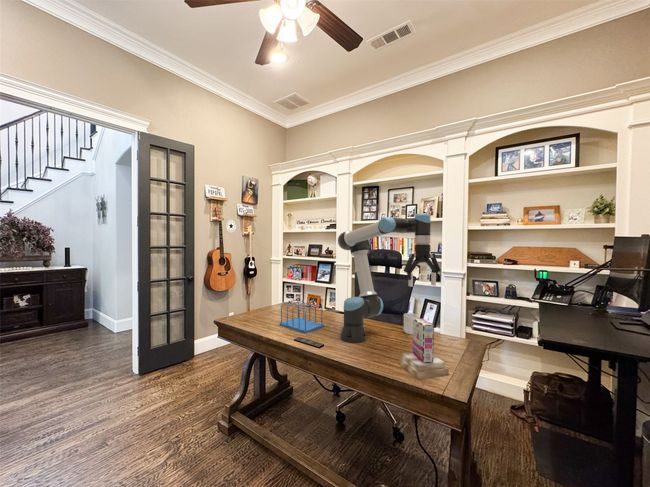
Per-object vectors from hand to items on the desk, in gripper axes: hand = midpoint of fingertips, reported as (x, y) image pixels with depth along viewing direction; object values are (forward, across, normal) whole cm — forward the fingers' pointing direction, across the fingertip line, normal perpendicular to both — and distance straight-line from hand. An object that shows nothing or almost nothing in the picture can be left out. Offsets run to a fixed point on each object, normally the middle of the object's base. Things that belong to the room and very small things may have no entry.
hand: (422, 285), depth 139 cm
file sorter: (+35, -50, +61) cm, 86 cm away
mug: (+35, +15, +30) cm, 48 cm away
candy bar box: (+30, -10, -14) cm, 35 cm away
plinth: (+35, -10, -14) cm, 39 cm away
